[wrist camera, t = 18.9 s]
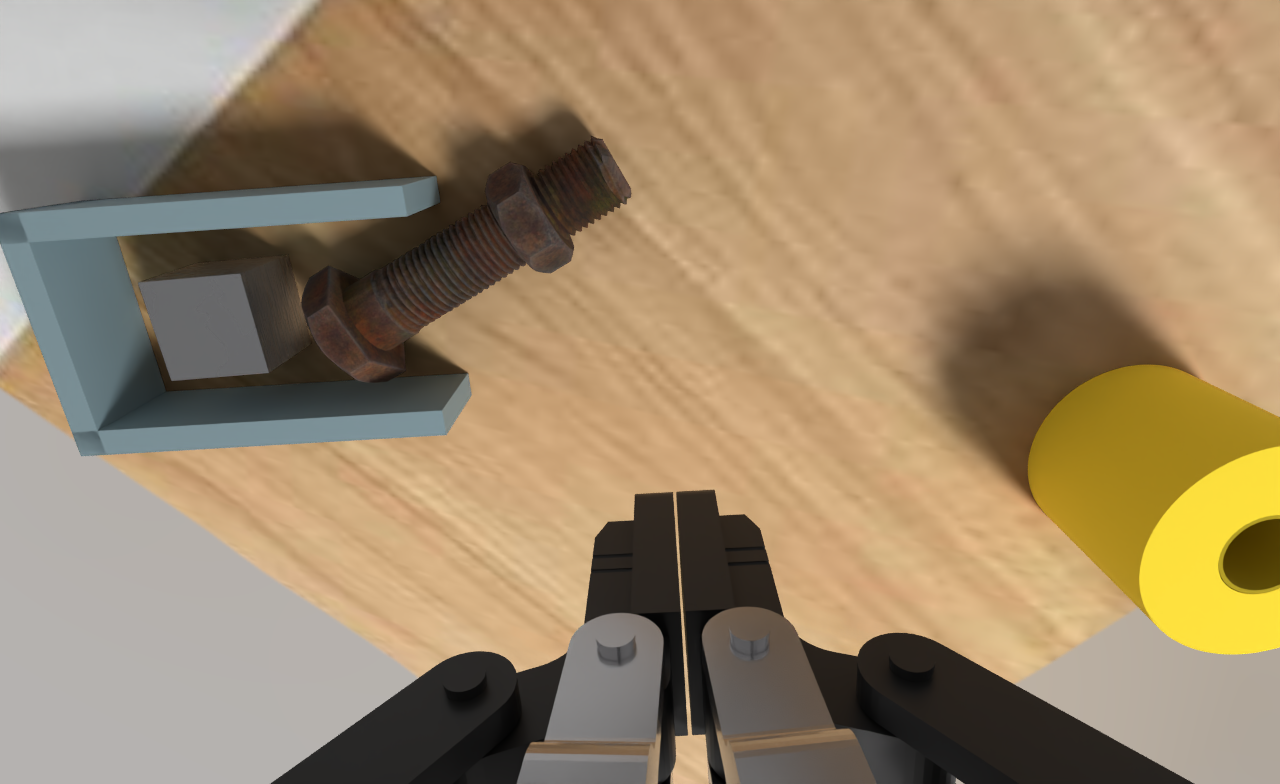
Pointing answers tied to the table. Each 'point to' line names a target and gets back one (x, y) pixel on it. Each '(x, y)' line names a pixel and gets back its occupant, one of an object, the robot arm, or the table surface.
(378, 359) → the bolt
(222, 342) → the block
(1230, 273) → the table surface
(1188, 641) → the yellow hollow cylinder
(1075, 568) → the table surface
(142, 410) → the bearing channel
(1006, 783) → the robot arm
